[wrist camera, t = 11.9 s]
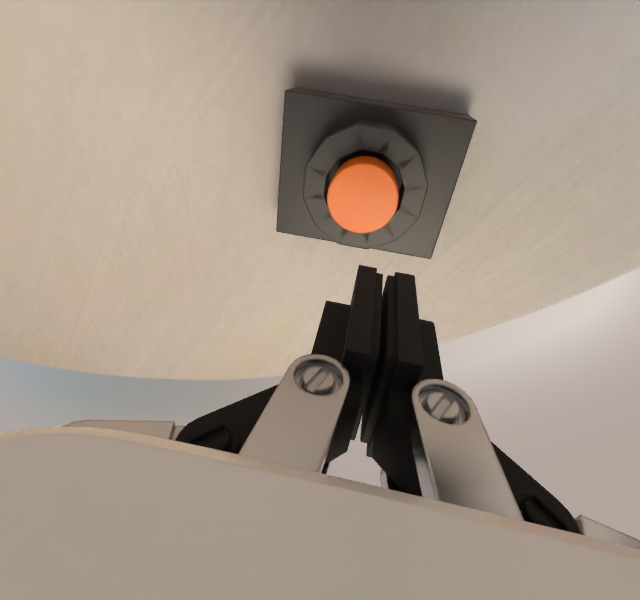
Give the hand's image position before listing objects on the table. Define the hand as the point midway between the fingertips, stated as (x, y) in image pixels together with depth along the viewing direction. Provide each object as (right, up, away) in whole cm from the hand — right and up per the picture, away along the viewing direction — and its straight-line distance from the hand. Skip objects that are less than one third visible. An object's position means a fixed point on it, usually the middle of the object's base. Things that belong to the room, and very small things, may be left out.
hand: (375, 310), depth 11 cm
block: (+1, +8, +11) cm, 14 cm away
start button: (+1, +6, +8) cm, 10 cm away
